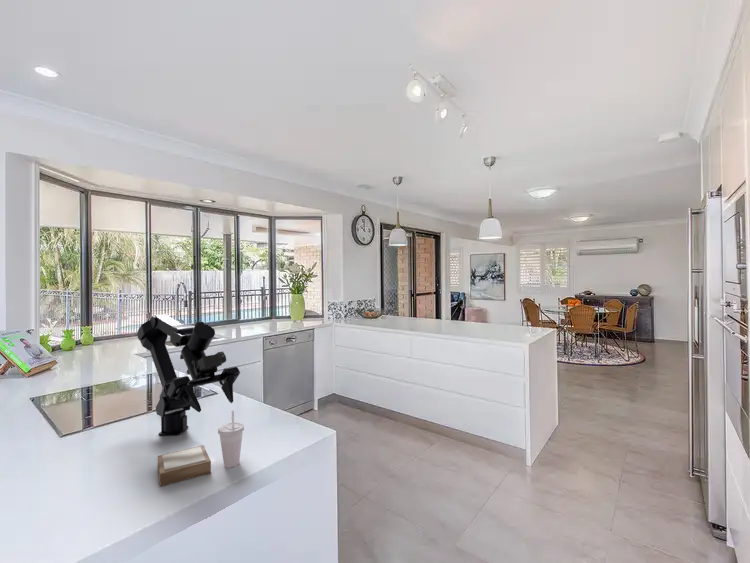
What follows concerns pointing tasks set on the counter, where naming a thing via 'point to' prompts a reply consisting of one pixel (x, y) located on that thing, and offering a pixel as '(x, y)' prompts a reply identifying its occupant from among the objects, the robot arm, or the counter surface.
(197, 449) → the plinth
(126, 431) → the counter surface
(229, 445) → the smoothie
